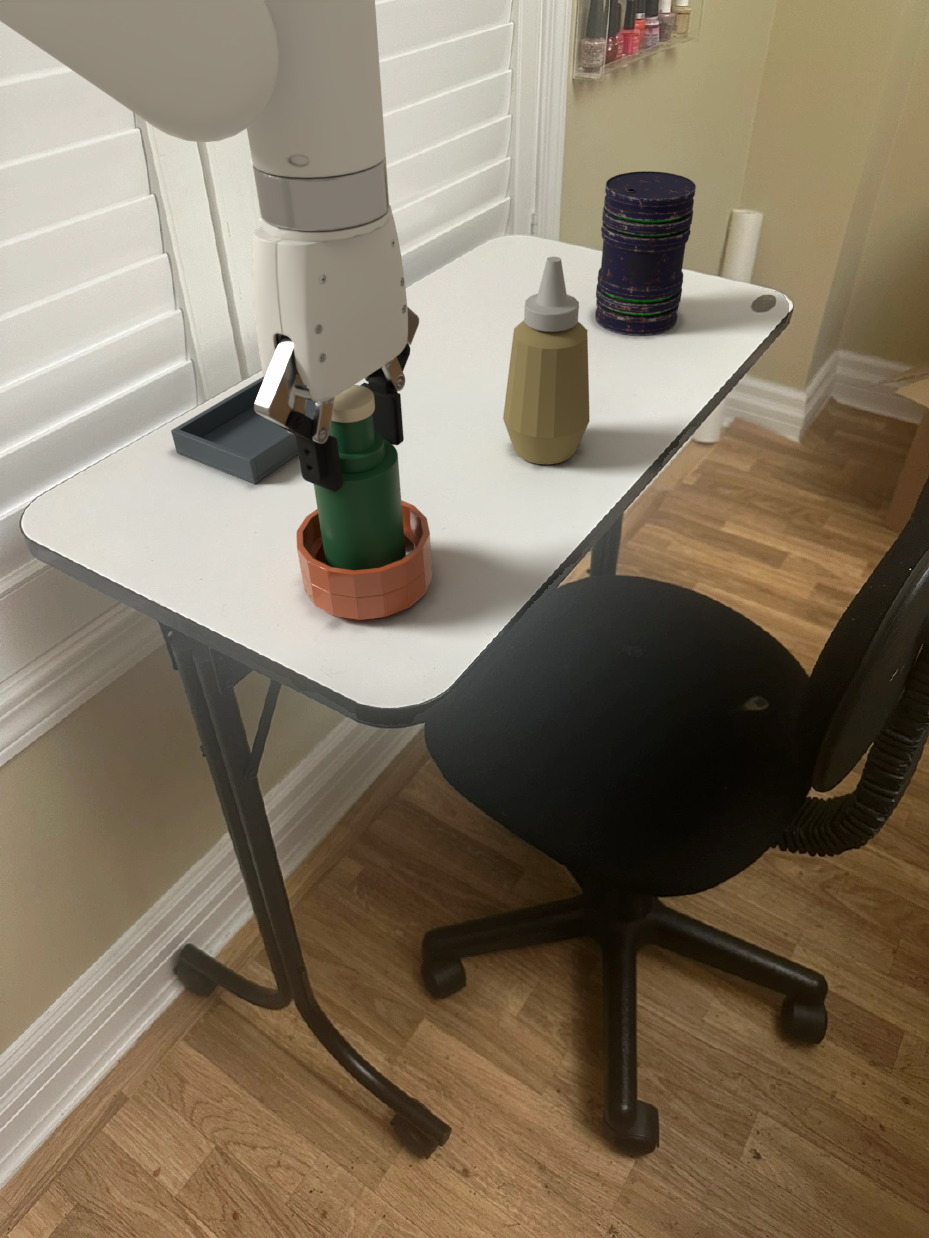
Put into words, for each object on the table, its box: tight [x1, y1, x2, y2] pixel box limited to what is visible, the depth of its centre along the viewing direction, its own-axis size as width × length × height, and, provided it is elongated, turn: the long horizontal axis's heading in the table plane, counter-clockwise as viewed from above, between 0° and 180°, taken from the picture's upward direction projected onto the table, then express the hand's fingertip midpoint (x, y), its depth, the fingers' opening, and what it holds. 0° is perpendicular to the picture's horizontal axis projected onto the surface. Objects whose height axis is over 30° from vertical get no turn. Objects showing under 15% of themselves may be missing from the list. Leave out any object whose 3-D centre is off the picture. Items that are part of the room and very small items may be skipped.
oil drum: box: [594, 170, 697, 337], centre depth 103 cm, size 10×10×15 cm
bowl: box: [296, 499, 433, 621], centre depth 70 cm, size 10×10×5 cm
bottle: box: [313, 384, 406, 570], centre depth 66 cm, size 6×6×16 cm
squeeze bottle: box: [502, 256, 590, 465], centre depth 80 cm, size 8×8×18 cm
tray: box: [170, 376, 316, 485], centre depth 89 cm, size 15×10×2 cm
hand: (354, 459), depth 64 cm, fingers closed on bottle, 6 cm apart
